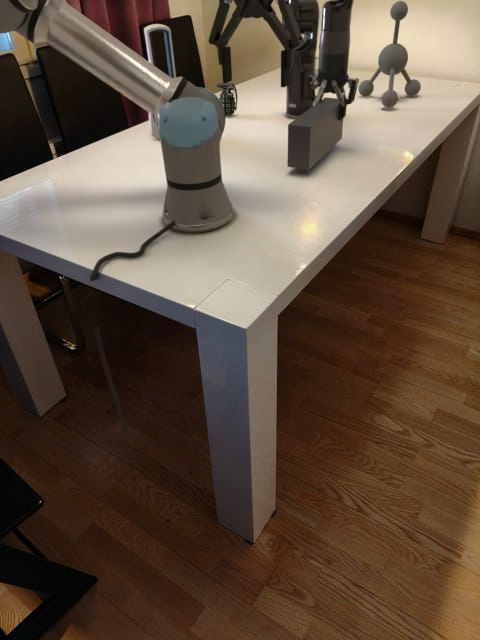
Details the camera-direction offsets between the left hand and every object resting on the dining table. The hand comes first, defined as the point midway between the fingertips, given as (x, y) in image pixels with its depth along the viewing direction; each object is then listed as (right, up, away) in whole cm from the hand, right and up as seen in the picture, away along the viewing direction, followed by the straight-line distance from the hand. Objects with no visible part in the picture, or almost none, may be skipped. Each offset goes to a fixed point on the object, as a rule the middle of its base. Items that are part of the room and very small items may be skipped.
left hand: (255, 83), depth 103 cm
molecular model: (+52, +29, +72) cm, 94 cm away
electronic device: (-25, +10, +53) cm, 60 cm away
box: (+17, -4, +28) cm, 34 cm away
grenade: (-7, +21, +67) cm, 70 cm away
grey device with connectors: (+27, +53, +105) cm, 120 cm away
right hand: (+21, +6, +31) cm, 38 cm away
